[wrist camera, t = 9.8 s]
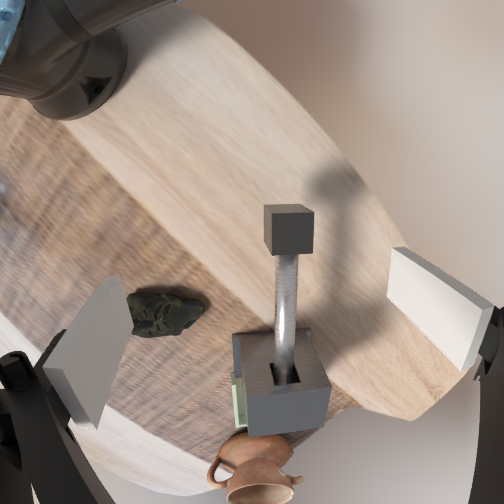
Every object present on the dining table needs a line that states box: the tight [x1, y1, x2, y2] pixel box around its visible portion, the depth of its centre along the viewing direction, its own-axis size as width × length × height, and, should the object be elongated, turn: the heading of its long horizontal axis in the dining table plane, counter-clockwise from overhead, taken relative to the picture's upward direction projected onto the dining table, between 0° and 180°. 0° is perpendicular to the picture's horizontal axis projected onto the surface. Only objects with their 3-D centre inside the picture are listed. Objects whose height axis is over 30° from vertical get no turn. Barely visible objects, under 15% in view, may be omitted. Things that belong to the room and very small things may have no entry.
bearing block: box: [232, 328, 332, 437], centre depth 39 cm, size 8×12×14 cm, turn 91°
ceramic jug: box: [207, 432, 303, 504], centre depth 46 cm, size 18×14×14 cm
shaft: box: [264, 204, 314, 386], centre depth 34 cm, size 27×4×5 cm, turn 1°
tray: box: [231, 373, 247, 428], centre depth 47 cm, size 11×13×3 cm
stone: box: [126, 293, 204, 338], centre depth 39 cm, size 7×13×5 cm, turn 92°
